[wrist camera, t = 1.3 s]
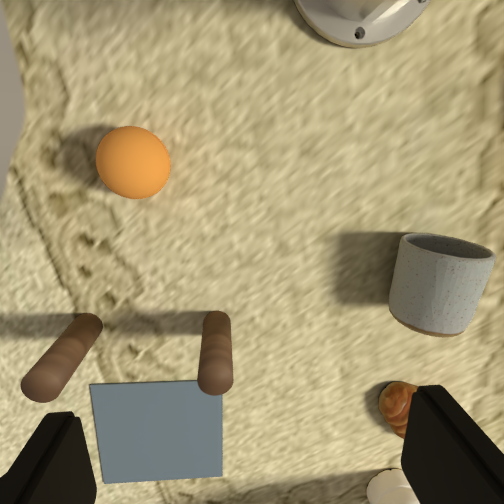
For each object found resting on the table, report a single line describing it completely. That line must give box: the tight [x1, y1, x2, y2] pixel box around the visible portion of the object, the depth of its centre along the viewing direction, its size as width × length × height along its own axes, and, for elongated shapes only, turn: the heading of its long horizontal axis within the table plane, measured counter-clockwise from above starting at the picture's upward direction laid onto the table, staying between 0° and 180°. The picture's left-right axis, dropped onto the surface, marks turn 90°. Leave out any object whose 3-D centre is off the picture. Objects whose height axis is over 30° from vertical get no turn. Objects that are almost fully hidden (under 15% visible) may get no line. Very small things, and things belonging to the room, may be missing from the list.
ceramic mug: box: [389, 233, 496, 337], centre depth 31 cm, size 11×8×8 cm
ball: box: [96, 126, 171, 199], centre depth 26 cm, size 6×6×6 cm
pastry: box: [379, 382, 418, 439], centre depth 38 cm, size 9×7×4 cm
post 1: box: [21, 313, 103, 403], centre depth 28 cm, size 3×3×9 cm
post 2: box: [197, 311, 233, 396], centre depth 30 cm, size 3×3×9 cm
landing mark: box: [90, 380, 222, 484], centre depth 37 cm, size 14×14×1 cm
